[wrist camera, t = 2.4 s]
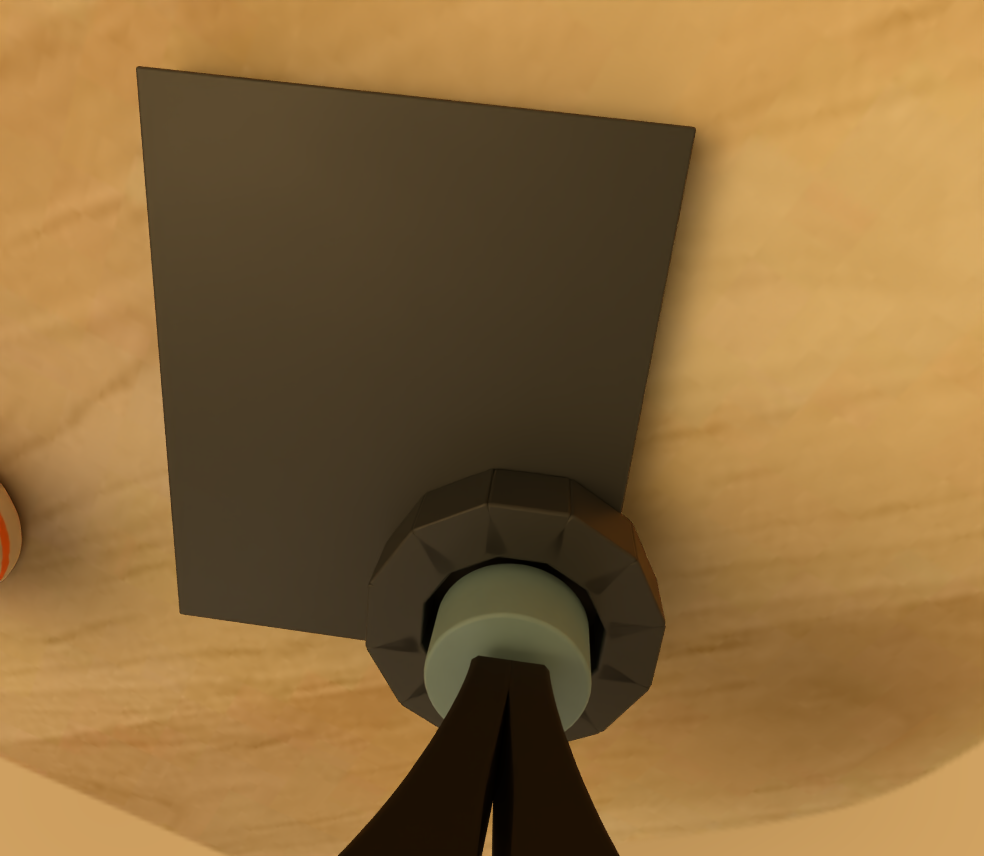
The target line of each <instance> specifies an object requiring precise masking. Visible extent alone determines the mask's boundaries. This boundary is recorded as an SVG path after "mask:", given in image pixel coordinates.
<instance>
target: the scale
mask: <svg viewBox="0 0 984 856" xmlns="http://www.w3.org/2000/svg"><path fill="white" fill-rule="evenodd" d="M136 74H137V86H138V99H139V111H140V123H141V136H142V148H143V161H144V173H145V186H146V198H147V211H148V223H149V236H150V248H151V260H152V273H153V285H154V298H155V310H156V323H157V335H158V348H159V360H160V373H161V385H162V397H163V410H164V422H165V435H166V447H167V460H168V472H169V485H170V497H171V510H172V522H173V534H174V547H175V559H176V572H177V584H178V597H179V609H180V614H184V615H191V616H198V617H205V618H212V619H219V620H226V621H233V622H240V623H247V624H254V625H261V626H268V627H275V628H282V629H289V630H296V631H303V632H310V633H317V634H324V635H331V636H338V637H345V638H352V639H359V640H366V647H367V650H368V652H369V653H370V655H371V657H372V658H373V660H374V662H375V663H376V665H377V667H378V668H379V670H380V672H381V673H382V675H383V676H384V678H385V680H386V681H387V683H388V685H389V686H390V688H391V690H392V691H393V693H394V695H395V696H396V698H397V700H398V701H399V702H400V703H401V704H402V705H403V706H404V707H406V708H408V709H409V710H411V711H412V712H414V713H416V714H417V715H419V716H421V717H422V718H424V719H425V720H427V721H429V722H430V723H432V724H434V725H435V726H437V727H438V728H439V727H440V725H441V723H442V722H443V720H444V719H443V718H442V717H441V716H440V714H439V713H438V712H437V711H436V709H435V708H434V706H433V705H432V703H431V701H430V699H429V696H428V693H427V690H426V687H425V682H424V666H425V660H426V656H427V652H428V648H429V644H430V641H431V637H432V633H433V629H434V625H435V621H436V617H437V613H438V610H439V607H440V604H441V602H442V600H443V598H444V596H445V594H446V593H447V592H448V590H449V589H450V588H451V587H452V586H453V585H454V584H455V583H456V582H457V581H458V580H460V579H461V578H462V577H464V576H465V575H467V574H469V573H470V572H472V571H474V570H477V569H479V568H482V567H486V566H489V565H495V564H505V563H513V564H523V565H528V566H532V567H536V568H539V569H542V570H544V571H546V572H548V573H550V574H552V575H554V576H555V577H557V578H559V579H560V580H561V581H563V582H564V583H565V584H566V585H567V586H568V587H569V588H570V589H571V590H572V591H573V592H574V593H575V594H576V596H577V597H578V598H579V600H580V601H581V603H582V605H583V607H584V609H585V612H586V615H587V619H588V624H589V643H590V663H591V683H592V685H591V694H590V697H589V701H588V703H587V705H586V707H585V710H584V711H583V713H582V714H581V716H580V717H579V719H578V720H577V721H576V722H575V723H574V724H573V725H572V726H571V727H570V728H569V729H567V730H566V731H565V735H566V738H567V740H568V741H572V740H576V739H580V738H583V737H587V736H591V735H595V734H598V733H600V732H602V731H604V730H605V729H606V728H607V727H608V726H609V725H611V724H612V723H613V722H614V721H615V720H616V719H617V718H618V717H619V716H620V715H622V714H623V713H624V712H625V711H626V710H627V709H628V708H629V707H630V706H631V705H633V704H634V703H635V702H636V701H637V700H638V699H639V698H640V697H641V696H642V695H644V694H645V693H646V692H647V691H648V690H649V688H650V686H651V685H652V681H653V677H654V673H655V669H656V664H657V660H658V656H659V652H660V648H661V643H662V639H663V635H664V631H665V618H664V613H663V608H662V603H661V598H660V593H659V588H658V584H657V579H656V577H655V574H654V572H653V570H652V567H651V565H650V563H649V560H648V558H647V556H646V553H645V551H644V549H643V546H642V544H641V542H640V539H639V537H638V535H637V532H636V530H635V527H634V525H633V523H632V522H630V520H629V519H628V518H626V517H625V516H623V515H622V514H621V512H622V507H623V501H624V496H625V491H626V486H627V481H628V476H629V471H630V466H631V461H632V455H633V450H634V445H635V440H636V435H637V430H638V425H639V420H640V414H641V409H642V404H643V399H644V394H645V389H646V384H647V379H648V373H649V368H650V363H651V358H652V353H653V348H654V343H655V338H656V332H657V327H658V322H659V317H660V312H661V307H662V302H663V297H664V292H665V286H666V281H667V276H668V271H669V266H670V261H671V256H672V251H673V245H674V240H675V235H676V230H677V225H678V220H679V215H680V210H681V204H682V199H683V194H684V189H685V184H686V179H687V174H688V169H689V164H690V158H691V153H692V148H693V143H694V138H695V133H696V128H695V127H690V126H681V125H672V124H663V123H654V122H645V121H635V120H626V119H617V118H608V117H599V116H590V115H581V114H572V113H562V112H553V111H544V110H535V109H526V108H517V107H508V106H498V105H489V104H480V103H471V102H462V101H453V100H444V99H435V98H425V97H416V96H407V95H398V94H389V93H380V92H371V91H361V90H352V89H343V88H334V87H325V86H316V85H307V84H298V83H288V82H279V81H270V80H261V79H252V78H243V77H234V76H224V75H215V74H206V73H197V72H188V71H179V70H170V69H161V68H151V67H142V66H138V67H136Z"/></svg>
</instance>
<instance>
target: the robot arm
mask: <svg viewBox="0 0 984 856" xmlns="http://www.w3.org/2000/svg"><path fill="white" fill-rule="evenodd" d="M492 803H493V830H492V856H619V854H618V852H617V850H616V848H615V846H614V844H613V843H612V841H611V839H610V837H609V835H608V833H607V831H606V829H605V827H604V825H603V823H602V821H601V819H600V817H599V815H598V813H597V811H596V809H595V807H594V804H593V802H592V800H591V798H590V795H589V793H588V791H587V789H586V786H585V784H584V782H583V779H582V777H581V775H580V772H579V770H578V767H577V765H576V762H575V759H574V757H573V754H572V751H571V749H570V746H569V743H568V740H567V738H566V735H565V732H564V729H563V726H562V723H561V719H560V716H559V713H558V709H557V706H556V702H555V698H554V694H553V689H552V684H551V679H550V671H549V670H548V669H547V667H546V666H545V665H542V664H535V663H528V662H521V661H514V660H507V659H500V658H493V657H486V656H479V655H478V656H476V657H475V658H473V659H471V663H470V666H469V670H468V672H467V675H466V677H465V680H464V682H463V684H462V686H461V689H460V691H459V693H458V695H457V697H456V698H455V700H454V702H453V704H452V706H451V708H450V710H449V712H448V713H447V715H446V717H445V718H444V720H443V722H442V723H441V725H440V727H439V728H438V730H437V732H436V733H435V735H434V737H433V738H432V740H431V741H430V743H429V744H428V746H427V747H426V749H425V750H424V752H423V753H422V755H421V756H420V757H419V759H418V760H417V762H416V763H415V765H414V766H413V768H412V769H411V770H410V772H409V773H408V775H407V776H406V777H405V779H404V780H403V781H402V783H401V784H400V785H399V787H398V788H397V789H396V790H395V792H394V793H393V794H392V796H391V797H390V798H389V799H388V800H387V802H386V803H385V804H384V805H383V806H382V808H381V809H380V810H379V811H378V812H377V814H376V815H375V816H374V817H373V818H372V819H371V820H370V822H369V823H368V824H367V825H366V826H365V827H364V828H363V829H362V830H361V832H360V833H359V834H358V835H357V836H356V837H355V838H354V839H353V840H352V841H351V843H350V844H349V845H348V846H347V847H346V848H345V849H344V850H343V851H342V852H341V853H340V854H339V855H338V856H482V852H483V847H484V842H485V837H486V832H487V827H488V823H489V818H490V813H491V808H492Z"/></svg>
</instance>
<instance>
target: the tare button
mask: <svg viewBox="0 0 984 856" xmlns="http://www.w3.org/2000/svg"><path fill="white" fill-rule="evenodd" d="M478 655H479V656H486V657H493V658H500V659H507V660H514V661H521V662H528V663H535V664H542V665H545V666H546V667H547V669H548V670H549V671H550V679H551V684H552V689H553V694H554V698H555V702H556V706H557V709H558V713H559V716H560V719H561V723H562V726H563V729H564V732H565V731H566V730H567V729H569V728H570V727H571V726H572V725H573V724H574V723H575V722H576V721H577V720H578V719H579V717H580V716H581V714H582V713H583V711H584V710H585V707H586V705H587V703H588V701H589V697H590V694H591V685H592V683H591V663H590V643H589V624H588V619H587V615H586V612H585V609H584V607H583V605H582V603H581V601H580V600H579V598H578V597H577V596H576V594H575V593H574V592H573V591H572V590H571V589H570V588H569V587H568V586H567V585H566V584H565V583H564V582H563V581H561V580H560V579H559V578H557V577H555V576H554V575H552V574H550V573H548V572H546V571H544V570H542V569H539V568H536V567H532V566H528V565H523V564H513V563H505V564H495V565H489V566H486V567H482V568H479V569H477V570H474V571H472V572H470V573H469V574H467V575H465V576H464V577H462V578H461V579H460V580H458V581H457V582H456V583H455V584H454V585H453V586H452V587H451V588H450V589H449V590H448V592H447V593H446V594H445V596H444V598H443V600H442V602H441V604H440V607H439V610H438V613H437V617H436V621H435V625H434V629H433V633H432V637H431V641H430V644H429V648H428V652H427V656H426V660H425V666H424V682H425V687H426V690H427V693H428V696H429V699H430V701H431V703H432V705H433V706H434V708H435V709H436V711H437V712H438V713H439V714H440V716H441V717H442V718H443V719H444V718H445V717H446V715H447V713H448V712H449V710H450V708H451V706H452V704H453V702H454V700H455V698H456V697H457V695H458V693H459V691H460V689H461V686H462V684H463V682H464V680H465V677H466V675H467V672H468V670H469V666H470V663H471V659H473V658H475V657H476V656H478Z"/></svg>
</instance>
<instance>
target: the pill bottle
mask: <svg viewBox="0 0 984 856" xmlns="http://www.w3.org/2000/svg"><path fill="white" fill-rule="evenodd" d="M21 545H22V534H21V525H20V520H19V517H18V513H17V511H16V509H15V507H14V505H13V503H12V501H11V499H10V497H9V495H8V493H7V492H6V490H5V489H4V487H3V485H2V484H1V483H0V582H1V581H2V580H4V579H5V578H6V577H7V575H8V574H9V573H10V572H11V571H12V569H13V567H14V565H15V564H16V562H17V560H18V558H19V555H20V551H21Z"/></svg>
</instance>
